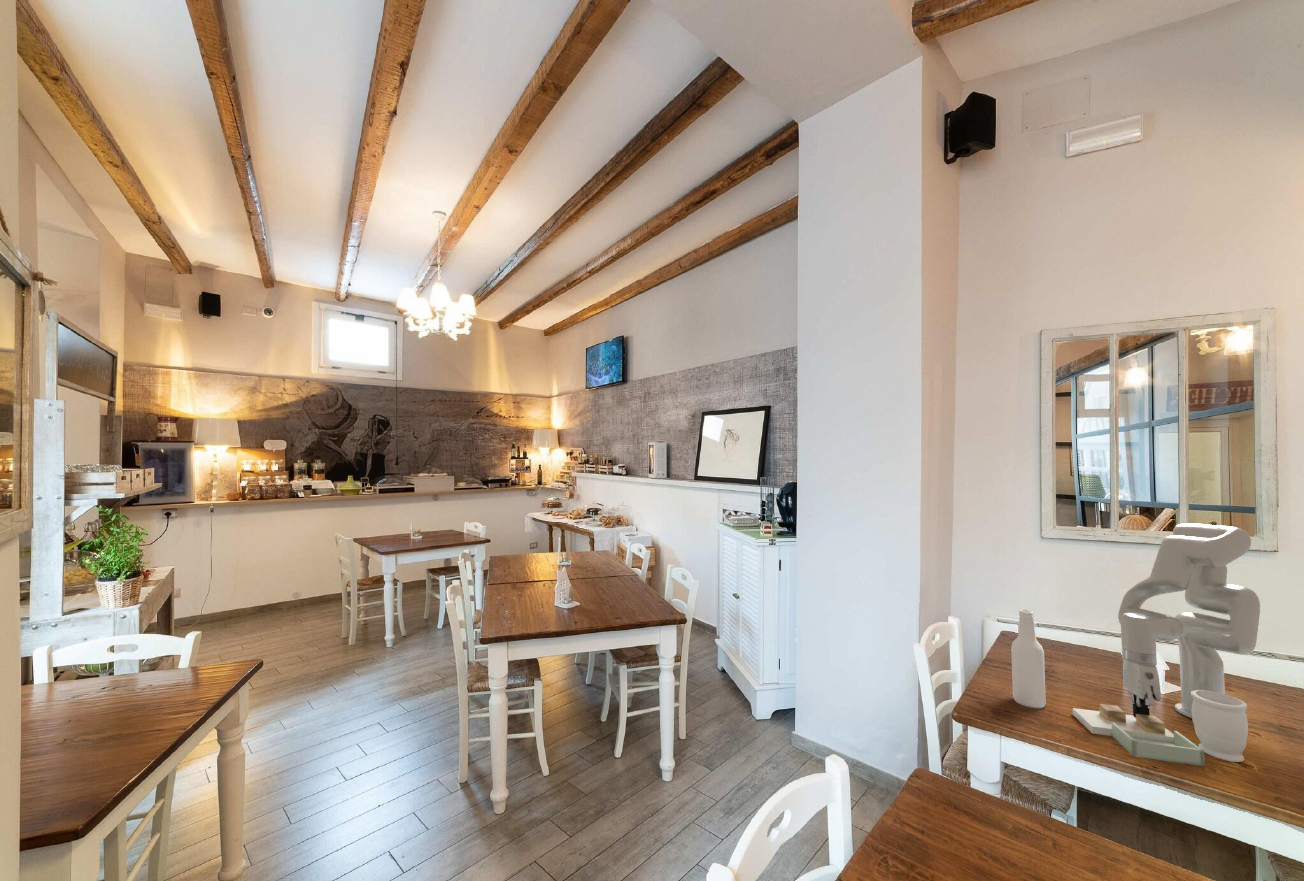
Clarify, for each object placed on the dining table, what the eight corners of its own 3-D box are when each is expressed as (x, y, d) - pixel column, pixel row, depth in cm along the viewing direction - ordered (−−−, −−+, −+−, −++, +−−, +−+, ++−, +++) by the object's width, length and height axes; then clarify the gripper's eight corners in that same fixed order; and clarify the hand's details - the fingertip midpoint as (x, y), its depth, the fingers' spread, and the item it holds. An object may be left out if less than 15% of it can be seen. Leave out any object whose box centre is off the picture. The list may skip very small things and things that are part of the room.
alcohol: (1047, 702, 169) (1044, 610, 170) (1044, 712, 162) (1041, 616, 164) (1015, 694, 175) (1012, 605, 176) (1010, 703, 168) (1008, 611, 170)
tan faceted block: (1155, 726, 149) (1155, 716, 150) (1165, 734, 145) (1164, 723, 145) (1136, 724, 151) (1135, 713, 151) (1145, 731, 147) (1144, 720, 147)
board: (1152, 724, 155) (1151, 717, 155) (1178, 745, 143) (1178, 737, 143) (1072, 714, 161) (1072, 708, 161) (1092, 733, 149) (1092, 726, 149)
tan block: (1117, 715, 156) (1117, 705, 156) (1126, 722, 152) (1125, 712, 152) (1099, 713, 157) (1099, 703, 157) (1107, 720, 153) (1107, 710, 153)
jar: (1258, 770, 132) (1255, 710, 132) (1201, 757, 137) (1198, 700, 138) (1239, 750, 141) (1236, 695, 141) (1187, 739, 146) (1184, 686, 147)
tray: (1177, 745, 143) (1177, 731, 143) (1204, 766, 133) (1204, 750, 133) (1112, 736, 147) (1111, 722, 148) (1133, 756, 138) (1132, 741, 138)
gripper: (1170, 667, 145) (1173, 733, 144) (1139, 649, 159) (1142, 709, 158) (1137, 663, 147) (1140, 729, 146) (1110, 646, 161) (1112, 706, 160)
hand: (1141, 719), depth 152 cm, fingers closed
